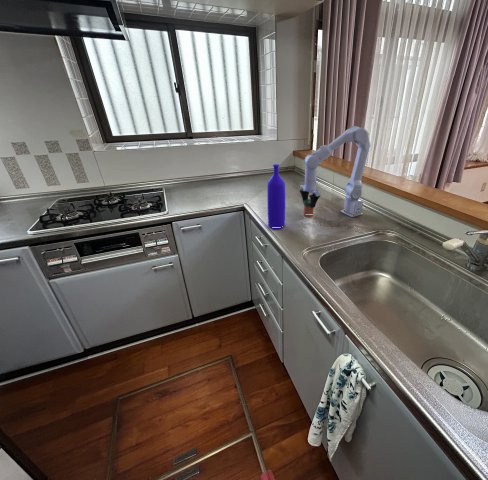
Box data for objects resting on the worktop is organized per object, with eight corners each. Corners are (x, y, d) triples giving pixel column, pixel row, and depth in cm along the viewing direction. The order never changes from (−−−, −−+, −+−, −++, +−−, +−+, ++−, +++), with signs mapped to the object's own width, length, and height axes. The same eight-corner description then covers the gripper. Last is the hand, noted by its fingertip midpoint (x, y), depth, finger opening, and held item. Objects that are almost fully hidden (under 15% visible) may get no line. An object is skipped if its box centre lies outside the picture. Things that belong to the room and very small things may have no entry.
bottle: (275, 221, 136) (275, 161, 122) (288, 226, 132) (289, 164, 117) (264, 226, 131) (262, 165, 116) (277, 231, 126) (276, 168, 111)
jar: (315, 215, 143) (316, 202, 139) (307, 217, 141) (308, 204, 137) (309, 212, 147) (310, 199, 143) (301, 214, 144) (302, 201, 141)
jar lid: (316, 205, 140) (317, 201, 139) (307, 207, 137) (308, 204, 136) (310, 201, 144) (310, 198, 143) (301, 203, 141) (301, 200, 141)
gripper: (295, 177, 138) (295, 202, 144) (312, 184, 127) (310, 211, 134) (307, 175, 141) (305, 199, 148) (324, 182, 130) (322, 208, 137)
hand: (309, 205), depth 141 cm, fingers open, 6 cm apart
